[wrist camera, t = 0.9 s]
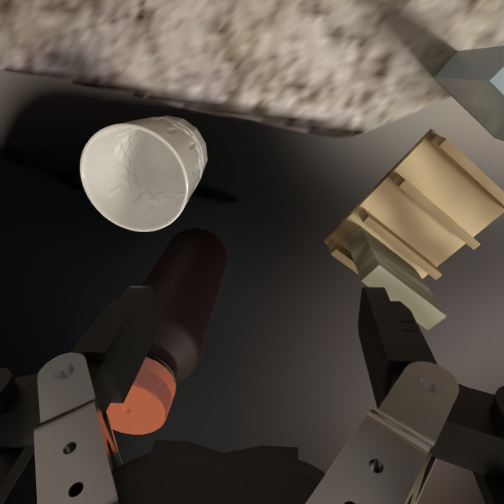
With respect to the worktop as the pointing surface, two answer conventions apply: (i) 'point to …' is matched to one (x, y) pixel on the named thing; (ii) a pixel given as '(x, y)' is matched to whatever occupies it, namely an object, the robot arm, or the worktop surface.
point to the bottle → (174, 327)
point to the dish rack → (417, 223)
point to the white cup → (143, 171)
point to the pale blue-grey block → (478, 85)
